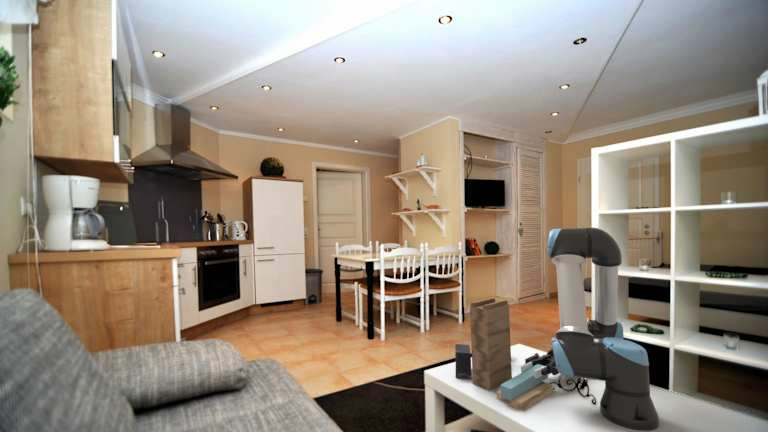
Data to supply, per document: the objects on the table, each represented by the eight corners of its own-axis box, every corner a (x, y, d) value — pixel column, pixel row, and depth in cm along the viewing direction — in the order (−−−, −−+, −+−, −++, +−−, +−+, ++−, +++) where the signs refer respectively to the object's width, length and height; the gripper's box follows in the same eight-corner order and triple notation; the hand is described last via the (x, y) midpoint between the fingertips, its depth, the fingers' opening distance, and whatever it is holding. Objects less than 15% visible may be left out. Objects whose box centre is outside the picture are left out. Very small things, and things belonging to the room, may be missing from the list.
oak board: (553, 392, 126) (552, 385, 126) (522, 410, 114) (522, 402, 114) (527, 382, 134) (527, 376, 134) (496, 398, 122) (496, 391, 122)
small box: (472, 379, 138) (471, 352, 139) (455, 378, 140) (454, 352, 140) (470, 368, 149) (469, 344, 149) (455, 367, 150) (454, 343, 151)
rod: (548, 377, 130) (547, 367, 130) (511, 400, 115) (510, 388, 116) (538, 374, 133) (537, 363, 133) (501, 396, 119) (500, 384, 119)
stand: (511, 380, 136) (508, 300, 137) (490, 391, 128) (486, 306, 129) (494, 374, 142) (491, 297, 144) (472, 383, 134) (469, 302, 135)
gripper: (583, 373, 132) (552, 391, 118) (540, 360, 146) (507, 375, 133) (582, 353, 133) (551, 369, 119) (539, 342, 147) (506, 355, 133)
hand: (528, 372), depth 126 cm, fingers open, 4 cm apart
